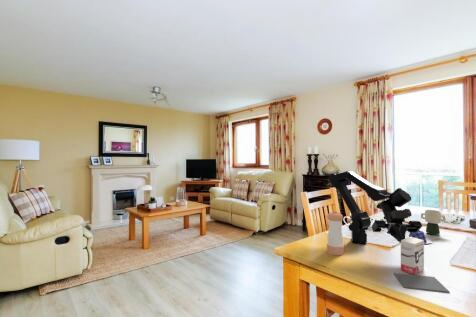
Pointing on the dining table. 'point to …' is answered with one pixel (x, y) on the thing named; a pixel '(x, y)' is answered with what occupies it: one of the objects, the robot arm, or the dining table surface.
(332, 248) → the pepper shaker
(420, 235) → the blue low rounded piece
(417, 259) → the ink box
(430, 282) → the mat
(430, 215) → the character mug
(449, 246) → the dining table surface
